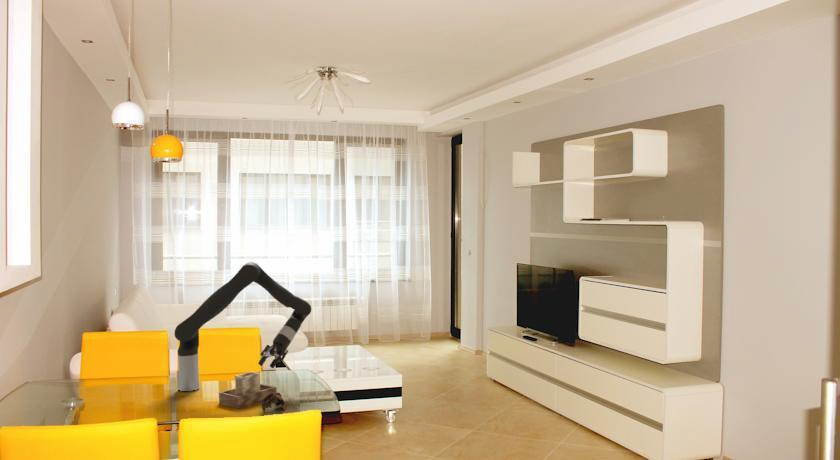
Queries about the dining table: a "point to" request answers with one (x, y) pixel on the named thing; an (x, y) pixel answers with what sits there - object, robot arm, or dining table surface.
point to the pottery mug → (273, 401)
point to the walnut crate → (245, 397)
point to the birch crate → (247, 383)
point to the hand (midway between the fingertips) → (265, 366)
